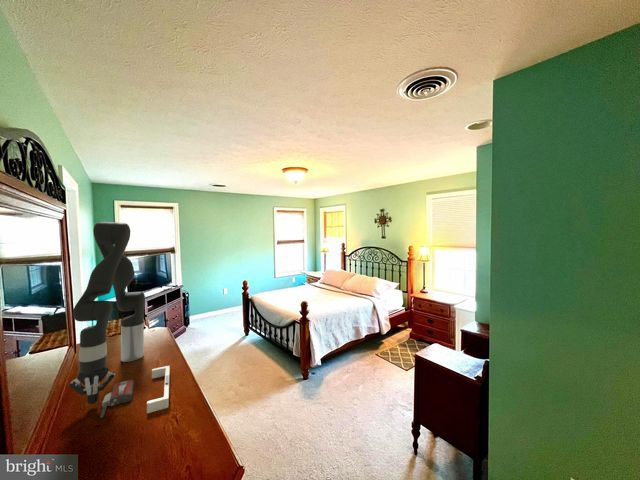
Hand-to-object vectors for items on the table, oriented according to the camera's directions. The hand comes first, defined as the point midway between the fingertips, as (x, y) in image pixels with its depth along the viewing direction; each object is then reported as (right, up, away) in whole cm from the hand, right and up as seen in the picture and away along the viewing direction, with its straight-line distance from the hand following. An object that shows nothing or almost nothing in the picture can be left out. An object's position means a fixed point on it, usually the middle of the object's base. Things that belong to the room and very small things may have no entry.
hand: (93, 403), depth 92 cm
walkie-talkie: (+6, -2, +4) cm, 7 cm away
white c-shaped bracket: (+17, -2, +10) cm, 20 cm away
